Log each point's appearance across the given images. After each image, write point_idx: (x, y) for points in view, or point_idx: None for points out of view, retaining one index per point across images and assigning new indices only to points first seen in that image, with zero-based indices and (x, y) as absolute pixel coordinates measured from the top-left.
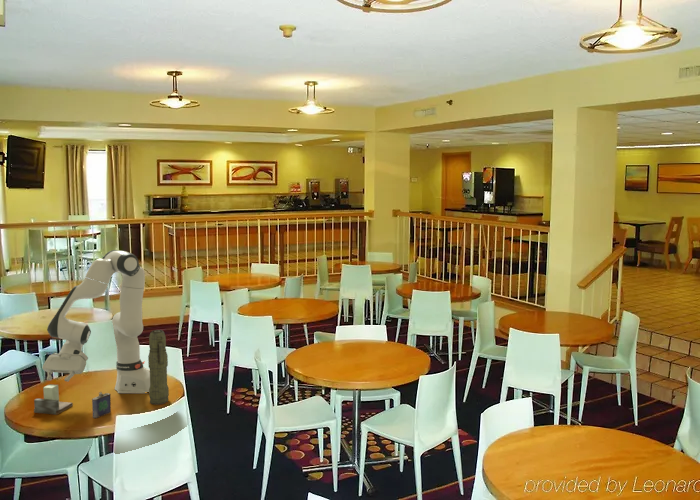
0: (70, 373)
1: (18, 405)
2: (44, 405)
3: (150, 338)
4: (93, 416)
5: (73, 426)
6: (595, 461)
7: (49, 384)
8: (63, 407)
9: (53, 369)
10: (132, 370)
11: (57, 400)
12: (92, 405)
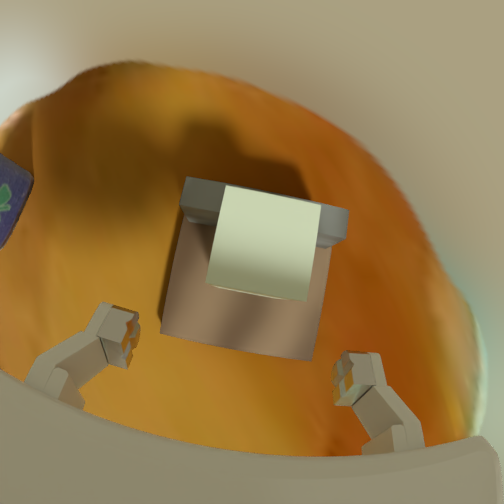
0: (52, 362)
1: (437, 318)
2: None
3: None
4: (27, 171)
5: (84, 99)
6: None
7: (306, 292)
8: (177, 256)
9: (357, 456)
10: None
11: (183, 201)
12: (2, 156)
